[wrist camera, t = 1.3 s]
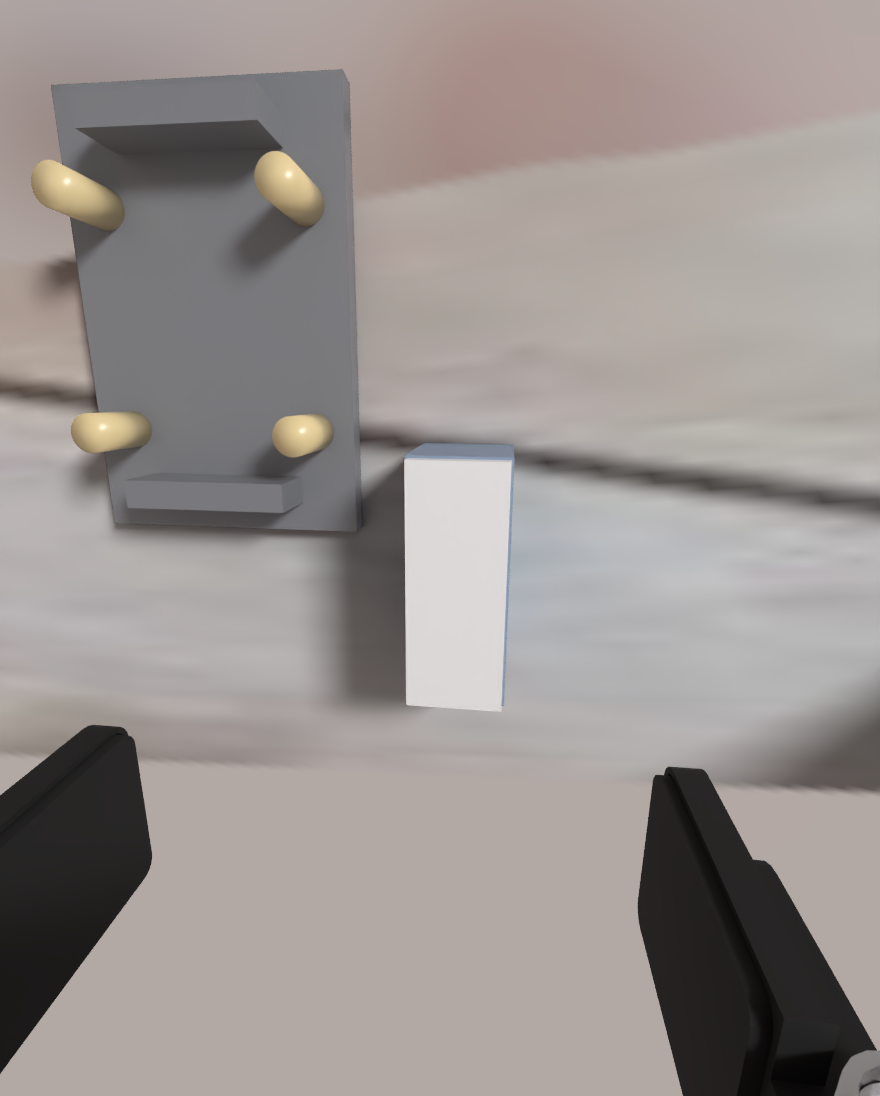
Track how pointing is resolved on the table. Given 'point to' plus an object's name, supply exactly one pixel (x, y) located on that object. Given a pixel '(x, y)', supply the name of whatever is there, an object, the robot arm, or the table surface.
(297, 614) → the table surface
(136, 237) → the tray
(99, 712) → the table surface
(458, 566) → the block
